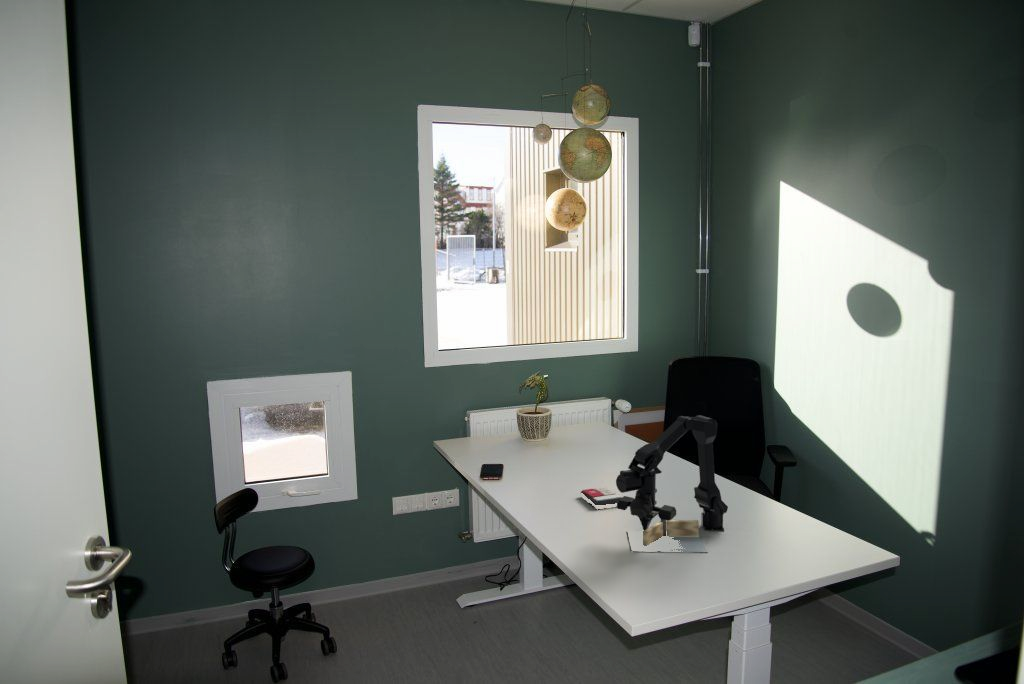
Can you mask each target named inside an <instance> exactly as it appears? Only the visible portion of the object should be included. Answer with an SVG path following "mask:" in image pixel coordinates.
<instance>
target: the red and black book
mask: <svg viewBox="0 0 1024 684" xmlns="http://www.w3.org/2000/svg"><path fill="white" fill-rule="evenodd" d="M581 493H583V494H584V495H585V496H586V497H587V498H588V499H590V500H591V501H592V502H593V503H594V504H595V505H606V504H615V503H617V501H618V500H620V499H621V498H622V497H623V496H620V495H618V494H617V493H616V492H614V491H613V490H612V489H609V488H608V487H605V486H601V487H595V488H588V489H582V490H581V491H580V494H581Z"/></svg>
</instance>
